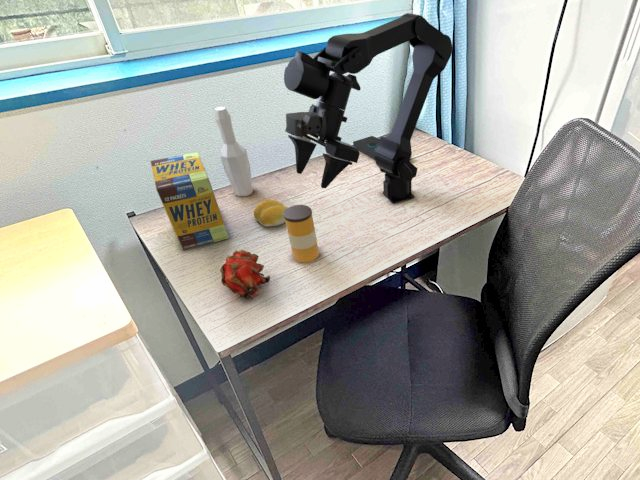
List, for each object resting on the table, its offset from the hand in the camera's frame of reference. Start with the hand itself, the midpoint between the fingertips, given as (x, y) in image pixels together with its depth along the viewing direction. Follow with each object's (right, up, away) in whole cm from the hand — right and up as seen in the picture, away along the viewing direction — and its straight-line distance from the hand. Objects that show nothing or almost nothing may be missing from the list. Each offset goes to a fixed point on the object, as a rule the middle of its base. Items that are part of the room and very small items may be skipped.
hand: (310, 180), depth 92 cm
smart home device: (+13, +20, +41) cm, 48 cm away
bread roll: (-13, -5, +15) cm, 20 cm away
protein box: (-29, -9, +12) cm, 32 cm away
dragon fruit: (-12, -24, -5) cm, 27 cm away
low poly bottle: (-23, +4, +25) cm, 34 cm away
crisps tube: (-2, -16, +3) cm, 16 cm away
